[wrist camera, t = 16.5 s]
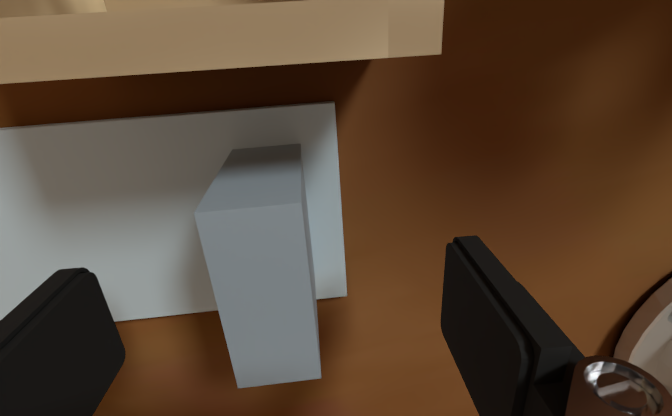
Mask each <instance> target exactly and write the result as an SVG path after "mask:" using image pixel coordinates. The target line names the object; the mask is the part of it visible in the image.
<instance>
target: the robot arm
mask: <svg viewBox="0 0 672 416" xmlns="http://www.w3.org/2000/svg"><path fill="white" fill-rule="evenodd" d="M441 329H442V333H443V336H444V338H445V340H446V342H447V345H448V347H449V349H450V351H451V354H452V356H453V358H454V360H455V362H456V365H457V367H458V369H459V371H460V373H461V376H462V378H463V380H464V382H465V385H466V387H467V389H468V391H469V393H470V396H471V398H472V400H473V402H474V405H475V407H476V409H477V411H478V413H479V416H672V277H671V278H670V279H669V280H668V281H667V282H665V283H664V284H663V285H662V286H661V287H660V288H658V289H657V290H656V291H655V292H654V293H653V294H652V295H651V296H650V297H649V298H648V299H647V300H646V301H645V302H644V303H643V305H642V306H641V307H640V308H639V309H638V310H637V311H636V313H635V314H634V316H633V317H632V318H631V320H630V321H629V323H628V324H627V326H626V327H625V329H624V330H623V333H622V335H621V337H620V339H619V341H618V343H617V345H616V348H615V353H614V357H610V356H598V355H595V356H589V357H584V355H583V354H582V353H581V352H580V351H579V350H578V349H577V347H576V346H575V345H574V344H573V343H572V342H571V341H570V339H569V338H568V337H567V336H566V335H565V334H564V333H563V331H562V330H561V329H560V328H559V327H558V326H557V325H556V323H555V322H554V321H553V320H552V319H551V318H550V317H549V315H548V314H547V313H546V312H545V311H544V310H543V308H542V307H541V306H540V305H539V304H538V303H537V302H536V300H535V299H534V298H533V297H532V296H531V295H530V294H529V292H528V291H527V290H526V289H525V288H524V287H523V286H522V285H521V284H520V283H519V282H517V281H516V280H515V279H514V278H513V277H512V275H511V274H510V273H509V272H508V271H507V270H506V268H505V267H504V266H503V265H502V264H501V263H500V261H499V260H498V259H497V258H496V257H495V256H494V255H493V253H492V252H491V251H490V250H489V249H488V248H487V246H486V245H485V244H484V243H483V242H482V241H481V239H480V238H479V237H478V236H464V237H455V238H454V239H453V242H452V243H448V244H447V246H446V256H445V270H444V283H443V297H442V311H441ZM124 359H125V348H124V346H123V343H122V341H121V338H120V335H119V333H118V330H117V328H116V325H115V323H114V320H113V317H112V315H111V312H110V310H109V307H108V305H107V302H106V299H105V297H104V294H103V292H102V289H101V287H100V284H99V281H98V279H97V277H96V275H95V274H94V273H92V272H90V271H89V270H88V269H87V268H84V267H81V268H69V269H59V270H57V271H56V272H55V273H53V274H52V275H51V276H50V277H49V278H48V279H47V280H46V281H44V282H43V283H42V284H41V285H40V286H39V287H38V288H37V289H35V290H34V291H33V292H32V293H31V294H30V295H29V296H27V297H26V298H25V299H24V300H23V301H22V302H21V303H20V304H18V305H17V306H16V307H15V308H14V309H13V310H12V311H11V312H9V313H8V314H7V315H6V316H5V317H4V318H3V319H2V320H0V416H92V415H93V414H94V412H95V410H96V409H97V407H98V405H99V403H100V402H101V400H102V398H103V397H104V395H105V393H106V392H107V390H108V388H109V387H110V385H111V383H112V382H113V380H114V378H115V376H116V375H117V373H118V371H119V370H120V368H121V366H122V365H123V362H124Z"/></svg>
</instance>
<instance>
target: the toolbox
mask: <svg viewBox="0 0 672 416" xmlns="http://www.w3.org/2000/svg"><path fill="white" fill-rule="evenodd" d="M443 15H444V0H0V84H6V83H21V82H36V81H51V80H66V79H81V78H95V77H110V76H125V75H140V74H155V73H170V72H185V71H199V70H214V69H229V68H244V67H259V66H274V65H289V64H303V63H318V62H333V61H348V60H363V59H378V58H393V57H407V56H422V55H437V54H441V49H442V32H443Z"/></svg>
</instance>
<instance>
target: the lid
mask: <svg viewBox="0 0 672 416" xmlns="http://www.w3.org/2000/svg"><path fill="white" fill-rule="evenodd" d="M81 267H84V268H87V269H88V270H89V271H90V272H92V273H94V274H95V275H96V277H97V279H98V281H99V284H100V287H101V289H102V292H103V294H104V297H105V299H106V302H107V305H108V307H109V310H110V312H111V315H112V317H113V320H114V322H116V321H125V320H134V319H143V318H152V317H161V316H170V315H179V314H189V313H198V312H207V311H216V310H218V311H219V315H220V319H221V323H222V327H223V331H224V335H225V339H226V343H227V347H228V351H229V354H230V358H231V362H232V366H233V370H234V374H235V378H236V382H237V386H238V388H246V387H254V386H262V385H270V384H279V383H287V382H295V381H303V380H311V379H320V378H321V364H320V348H319V333H318V318H317V302H316V299H325V298H334V297H343V296H347V286H346V271H345V255H344V239H343V224H342V208H341V193H340V177H339V162H338V146H337V130H336V115H335V102H334V101H328V102H315V103H303V104H291V105H278V106H266V107H253V108H241V109H229V110H216V111H204V112H192V113H179V114H167V115H154V116H142V117H130V118H117V119H105V120H93V121H80V122H68V123H55V124H43V125H31V126H18V127H6V128H0V320H2V319H3V318H4V317H5V316H6V315H7V314H8V313H9V312H11V311H12V310H13V309H14V308H15V307H16V306H17V305H18V304H20V303H21V302H22V301H23V300H24V299H25V298H26V297H27V296H29V295H30V294H31V293H32V292H33V291H34V290H35V289H37V288H38V287H39V286H40V285H41V284H42V283H43V282H44V281H46V280H47V279H48V278H49V277H50V276H51V275H52V274H53V273H55V272H56V271H57V270H59V269H69V268H81Z"/></svg>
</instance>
